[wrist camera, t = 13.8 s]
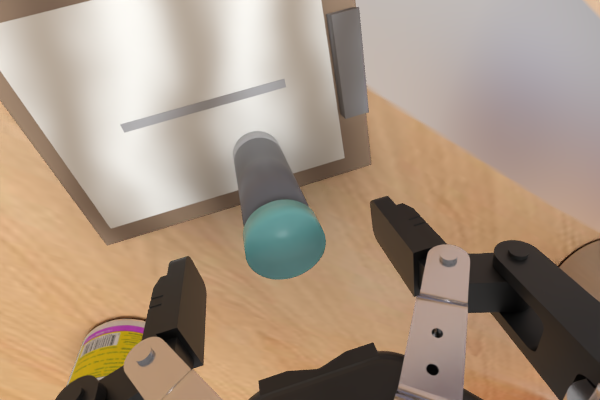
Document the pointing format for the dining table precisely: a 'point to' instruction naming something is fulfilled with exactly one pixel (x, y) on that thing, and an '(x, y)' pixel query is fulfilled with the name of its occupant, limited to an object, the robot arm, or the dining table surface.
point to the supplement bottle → (107, 348)
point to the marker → (274, 211)
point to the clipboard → (181, 98)
